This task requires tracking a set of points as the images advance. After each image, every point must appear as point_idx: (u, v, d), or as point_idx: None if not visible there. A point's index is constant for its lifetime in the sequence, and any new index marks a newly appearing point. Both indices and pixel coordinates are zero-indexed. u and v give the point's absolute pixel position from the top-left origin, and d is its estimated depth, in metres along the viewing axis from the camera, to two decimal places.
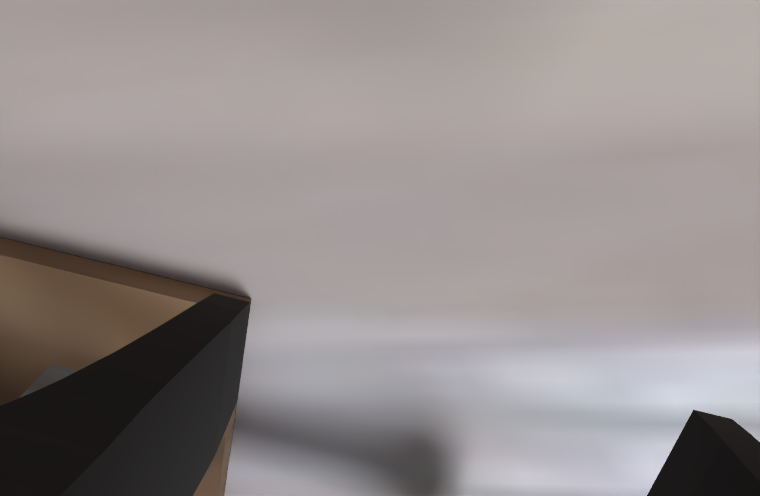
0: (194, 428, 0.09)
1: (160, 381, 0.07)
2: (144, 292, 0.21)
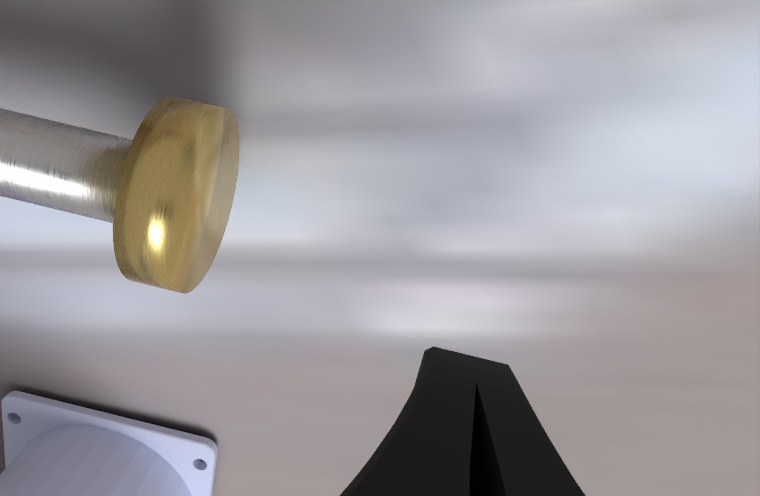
0: None
1: (462, 455, 0.07)
2: None
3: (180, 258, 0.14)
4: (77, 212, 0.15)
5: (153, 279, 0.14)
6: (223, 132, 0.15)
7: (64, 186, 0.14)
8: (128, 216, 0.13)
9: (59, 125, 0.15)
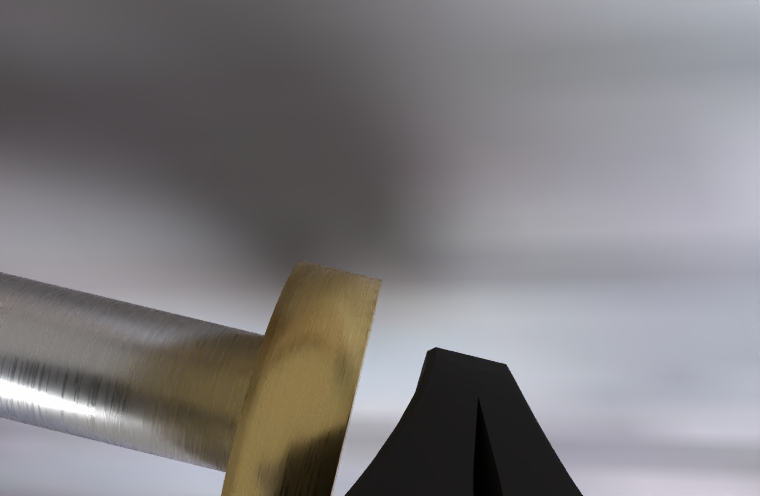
0: None
1: (465, 456, 0.07)
2: None
3: None
4: None
5: None
6: None
7: (122, 423, 0.09)
8: None
9: (110, 311, 0.09)
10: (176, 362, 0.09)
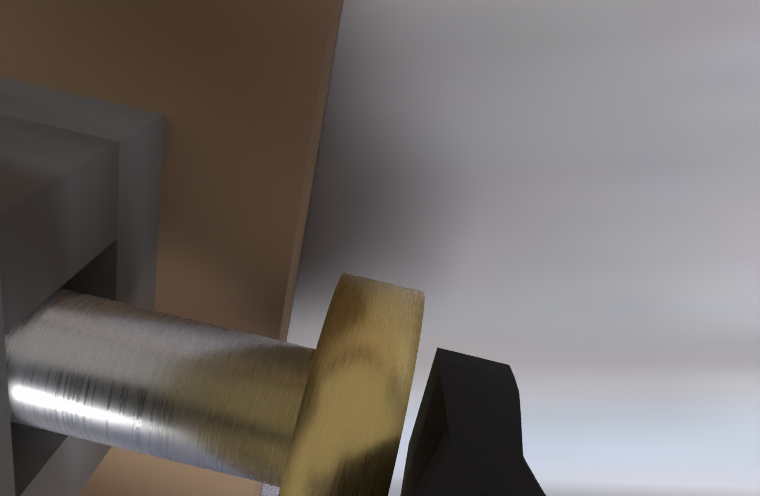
0: None
1: (515, 469, 0.07)
2: None
3: None
4: None
5: None
6: None
7: (167, 436, 0.09)
8: None
9: (153, 323, 0.09)
10: (221, 375, 0.09)
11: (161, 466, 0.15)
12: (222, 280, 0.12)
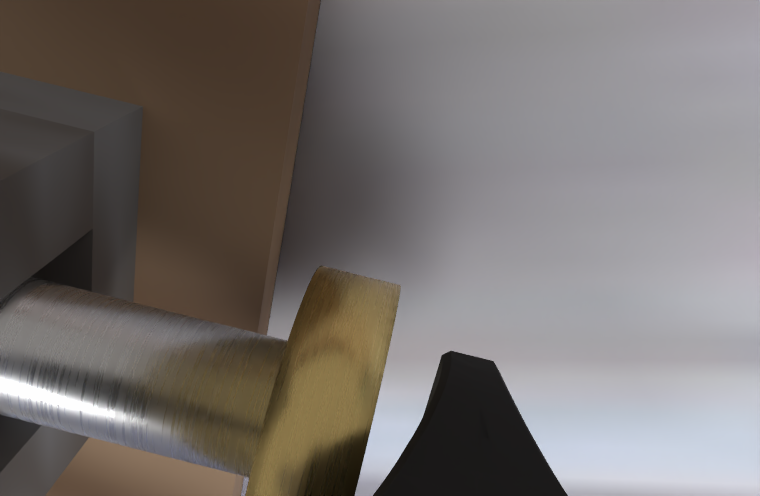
0: None
1: (486, 461, 0.07)
2: None
3: None
4: (157, 454, 0.09)
5: None
6: None
7: (141, 427, 0.09)
8: None
9: (129, 314, 0.09)
10: (196, 366, 0.09)
11: (141, 459, 0.15)
12: (200, 273, 0.12)
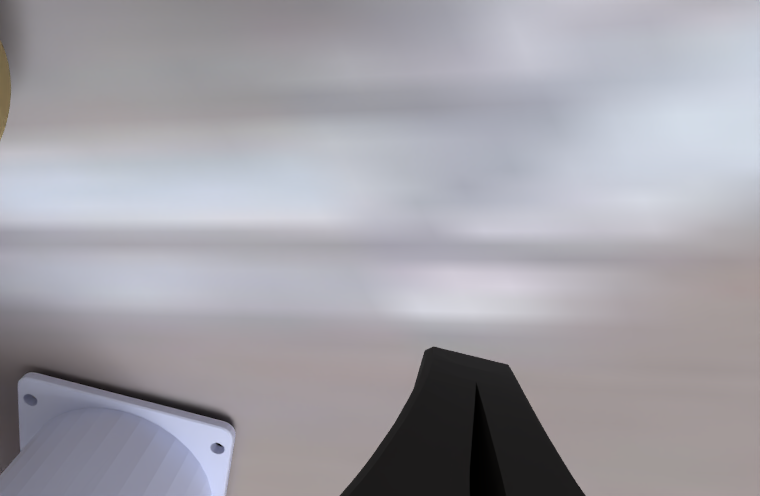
0: None
1: (462, 456, 0.07)
2: None
3: None
4: None
5: None
6: None
7: None
8: None
9: None
10: None
11: None
12: None
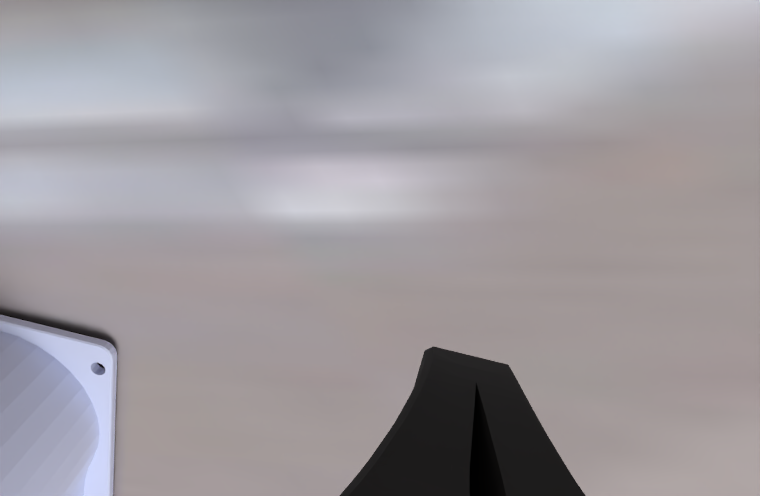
0: None
1: (462, 455, 0.07)
2: None
3: None
4: None
5: None
6: None
7: None
8: None
9: None
10: None
11: None
12: None
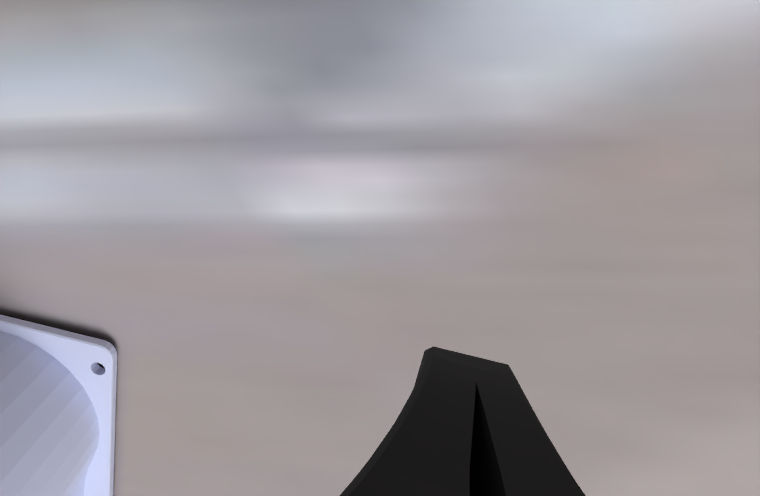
0: None
1: (462, 455, 0.07)
2: None
3: None
4: None
5: None
6: None
7: None
8: None
9: None
10: None
11: None
12: None
